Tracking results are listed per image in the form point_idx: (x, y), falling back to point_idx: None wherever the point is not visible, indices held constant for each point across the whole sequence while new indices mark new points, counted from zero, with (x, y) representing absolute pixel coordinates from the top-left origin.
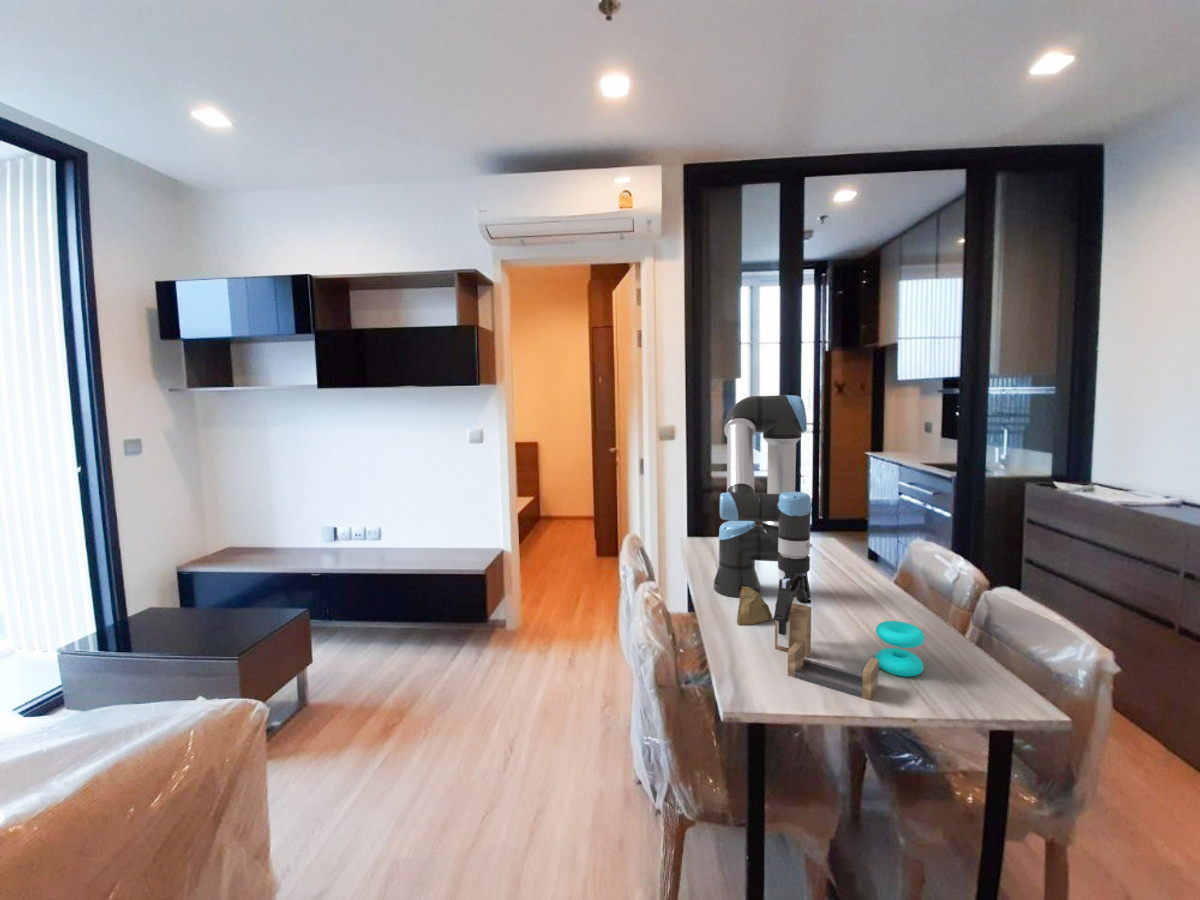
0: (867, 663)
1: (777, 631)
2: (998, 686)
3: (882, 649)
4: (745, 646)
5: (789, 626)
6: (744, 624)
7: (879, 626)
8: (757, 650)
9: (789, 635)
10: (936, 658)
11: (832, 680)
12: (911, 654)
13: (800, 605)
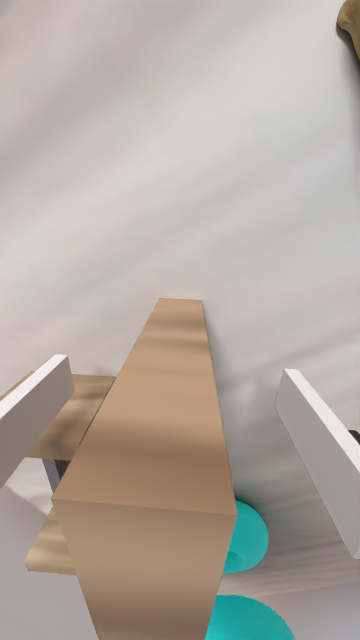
0: (68, 567)
1: (6, 397)
2: (230, 587)
3: (241, 536)
4: (109, 188)
5: (1, 482)
6: (357, 54)
7: None
8: (109, 247)
9: (43, 431)
10: (296, 551)
11: (51, 463)
12: (234, 572)
13: (190, 631)
